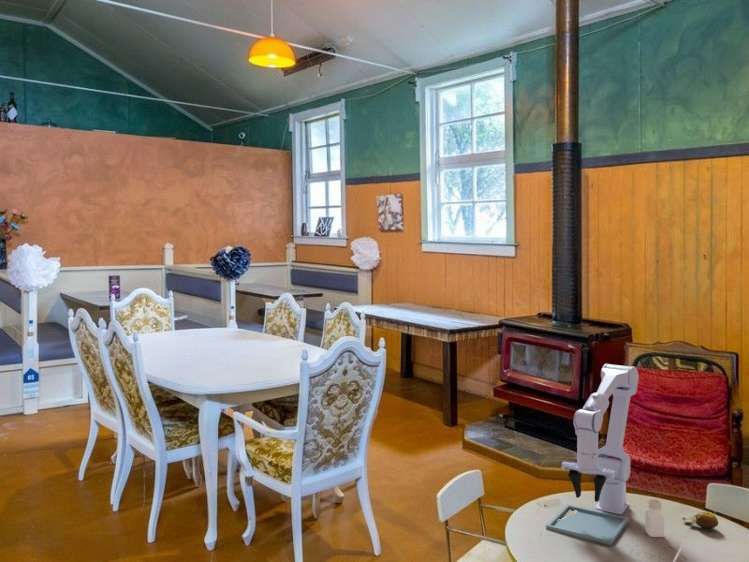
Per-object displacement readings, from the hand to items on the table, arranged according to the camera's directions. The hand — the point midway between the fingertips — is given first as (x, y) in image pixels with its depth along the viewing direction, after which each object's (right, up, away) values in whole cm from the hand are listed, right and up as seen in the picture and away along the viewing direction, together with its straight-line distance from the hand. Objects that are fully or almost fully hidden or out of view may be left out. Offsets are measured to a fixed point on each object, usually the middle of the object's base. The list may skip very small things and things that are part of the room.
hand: (587, 498), depth 182 cm
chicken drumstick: (+31, -9, +3) cm, 32 cm away
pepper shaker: (+17, -9, -5) cm, 20 cm away
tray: (0, -8, 0) cm, 8 cm away
